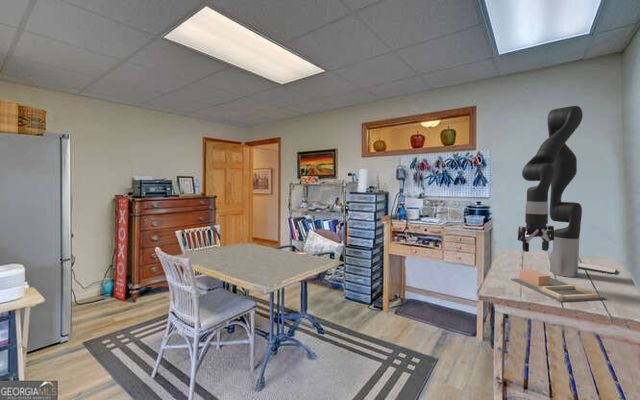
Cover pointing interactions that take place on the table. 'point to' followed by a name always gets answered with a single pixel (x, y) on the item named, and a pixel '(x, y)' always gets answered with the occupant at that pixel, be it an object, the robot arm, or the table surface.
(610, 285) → the table surface
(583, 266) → the phone case
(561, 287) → the mat
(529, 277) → the terracotta block
